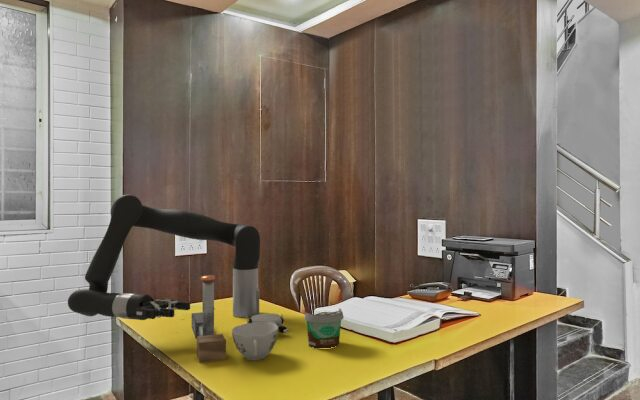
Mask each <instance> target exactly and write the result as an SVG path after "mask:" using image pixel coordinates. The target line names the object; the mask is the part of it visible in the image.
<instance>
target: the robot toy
mask: <svg viewBox="0 0 640 400" xmlns="http://www.w3.org/2000/svg"><path fill="white" fill-rule="evenodd" d="M280 315H281V316H280ZM245 319H246V324H248V323H255V322H265V323H270V324H275V325H277V326H278V333H282V334H287V333H290V330H289V329H288V328H287V326H284V322H285V318H284V316H283V313H281V314H277V313H259V315H254V316H251V317H249V318H248V317H247V316H246V317H245Z"/></svg>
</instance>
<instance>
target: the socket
mask: <svg viewBox="0 0 640 400" xmlns="http://www.w3.org/2000/svg"><path fill="white" fill-rule="evenodd" d="M196 356H197V360H198V363H200V364H201V363H207V362H214V361H222V360H226V359H227V339H226V337H225V335H224V334H223V333H219V334H218V333H217V334H214V335H206V336H197V338H196Z"/></svg>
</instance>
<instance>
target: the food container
mask: <svg viewBox="0 0 640 400" xmlns="http://www.w3.org/2000/svg"><path fill="white" fill-rule="evenodd" d="M343 319H344V313H343V311H342V309H341V308H338V311H323V312H318V313H315V314H313V313H309V312H305V314H304V319H303V320H304V321H306V329H307V342H308V347H310V348H312V347H314V348H313V349H315V348H331V347H335V346H337V345H338V344H339V345H340V334H341V324H342V320H343ZM339 345H338V346H339ZM338 346H337V347H338ZM335 348H336V347H335Z"/></svg>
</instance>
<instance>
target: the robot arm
mask: <svg viewBox="0 0 640 400" xmlns="http://www.w3.org/2000/svg"><path fill="white" fill-rule="evenodd" d="M110 215H111V217H110V221H109V224H108V227H107V229H106V232H105V234H104V236H103V238H102V240H101V242H100V244H99V246H98V248H97V250H96V252H95V253H94V255H93V257H92V259H91V262H90V264H89V266H88V268H87V269H86V270H87V271H86V273H85V275H84V280H85V281H86V282H87V283H88V284H89V285H88V287H89V288H88V289H86V288H82V289H78V290H75V291H74V292H72V293H71V294H70V295H69V296H68V298H67V306H68V308H69V309H70V310H71V311H72V312H74V313H76V314H80V315H83V316H86V317H95V316H97V315H101V316H103V317H108V318H109V317H111V318H120V319H126V320H138V321H145V320H155V319H156V318H162V317H163V318H174V317H175V311H176V310H178V311H179V310H180V311H189V310H190V309H191V302H189V301H181V299H180V298H165V297H163V298H162V299H153V296H152V295H150V294H148V293H133V292H125V293H123V292H122V293H121V292H119V293H118V292H108V289H109V281H110V280H111V276H112V274H113V272H114V270H115V268H116V264H118V263H117V262H118V260H119V257H120V253H121V252H122V249H123V246H124V244H125V241H126V239H127V237H128V235H129V233H130V231H131V229H132V228H133V227H134V228H135V227H139V228H144V229H145V228H146V229H151V230H155V231H158V232H163V233H166V234H170V235H174V236H178V237H182V238H186V239H187V238H188V239H192V240H198V241H214V242H220V243H222V244H227V245H230V246H232V247H235V255H234V256H235V257H234V260H233V261H232V316H234V317H237V318H246V316H247V318H251V317H252V316H254V315H260V288H259V262H260V257H261V254H260V253H261V235H260V232H259V231H258V229H257V227H255V226H253V225H248V224H239V223H238V224H237V223H231V222H224V221H220V220H217V219H214V218H212V217H210V216H207V215H204V214H201V213H197V212H193V211H190V210H184V209H172V208H171V209H170V208H169V209H168V208H156V207H152V206H151V207H150V206H147V205H144V204H142V201H141V200H140V199H139V198H138V197H137V196H136V195H135V194H123V195H121V196H119V197H118V198H116V199H115V201H114V202H113V203H112V205H111V208H110Z"/></svg>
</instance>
